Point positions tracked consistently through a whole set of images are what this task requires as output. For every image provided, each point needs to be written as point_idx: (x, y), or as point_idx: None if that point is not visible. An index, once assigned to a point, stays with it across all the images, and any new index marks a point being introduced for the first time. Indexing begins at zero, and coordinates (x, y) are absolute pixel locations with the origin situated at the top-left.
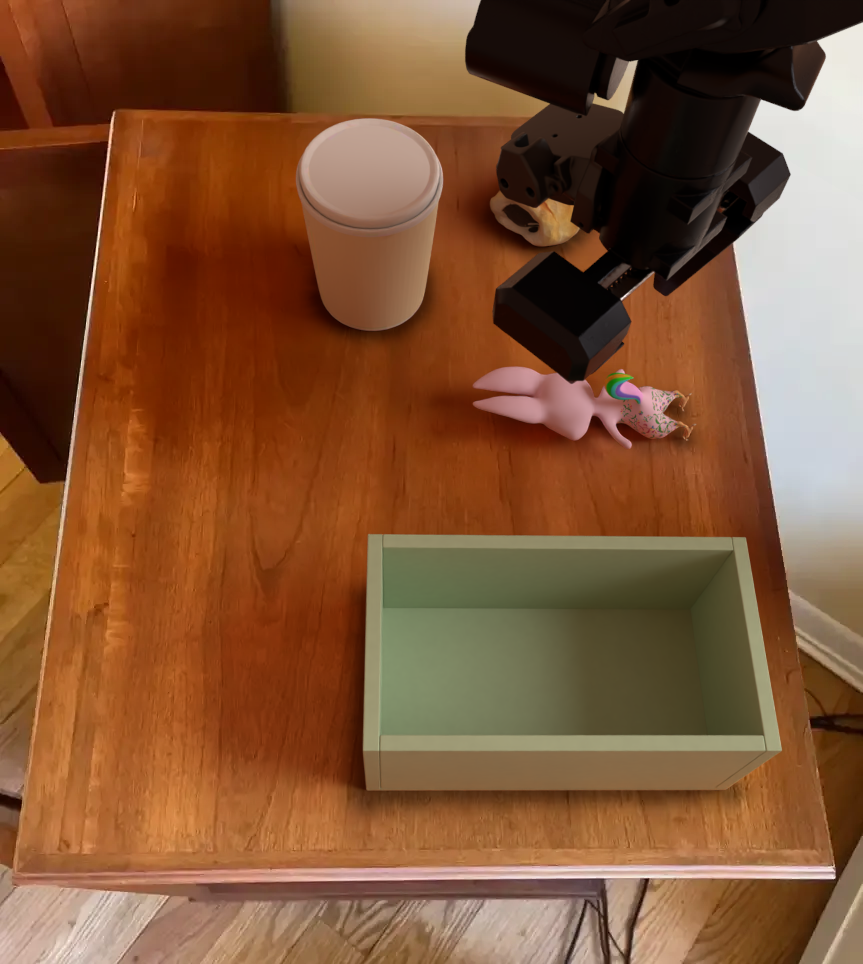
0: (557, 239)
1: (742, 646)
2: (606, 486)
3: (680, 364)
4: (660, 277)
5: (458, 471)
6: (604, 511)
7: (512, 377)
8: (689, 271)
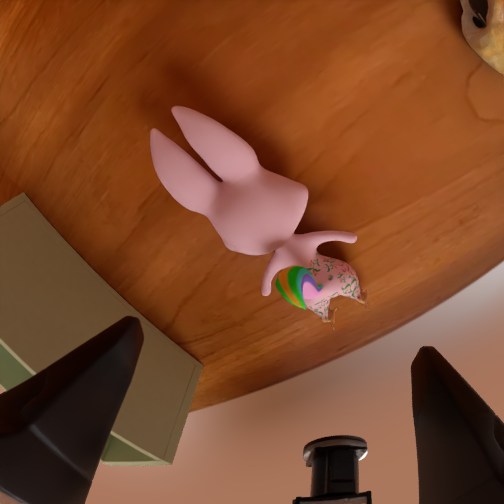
0: (485, 57)
1: (128, 452)
2: (228, 278)
3: (413, 263)
4: (428, 379)
5: (127, 155)
6: (206, 289)
7: (209, 149)
8: (420, 451)
